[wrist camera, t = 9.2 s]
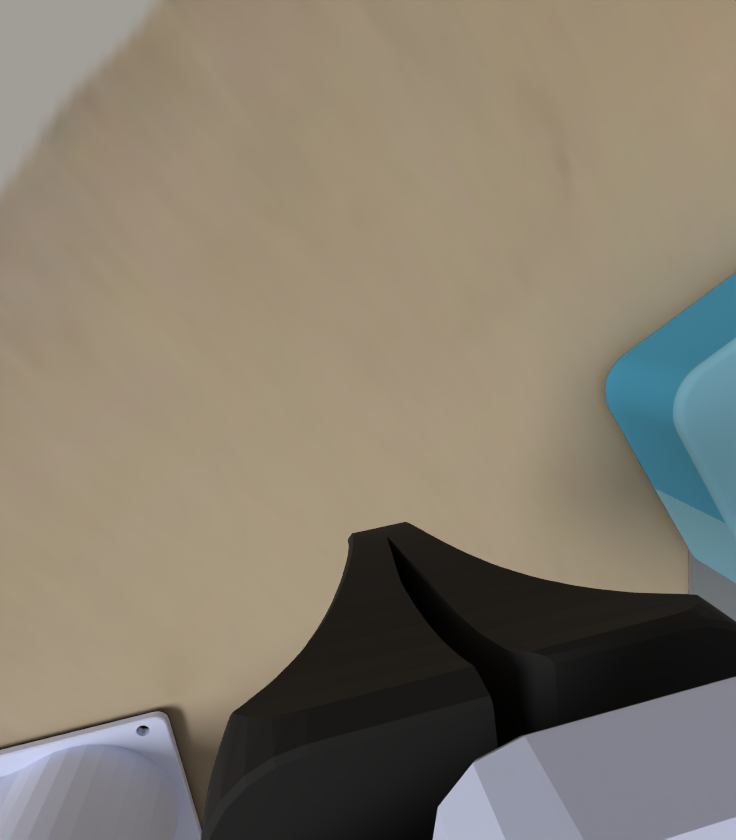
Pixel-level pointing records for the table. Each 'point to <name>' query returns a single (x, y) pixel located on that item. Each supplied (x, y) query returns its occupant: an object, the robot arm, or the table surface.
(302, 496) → the table surface
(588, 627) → the robot arm
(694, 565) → the mat
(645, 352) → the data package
